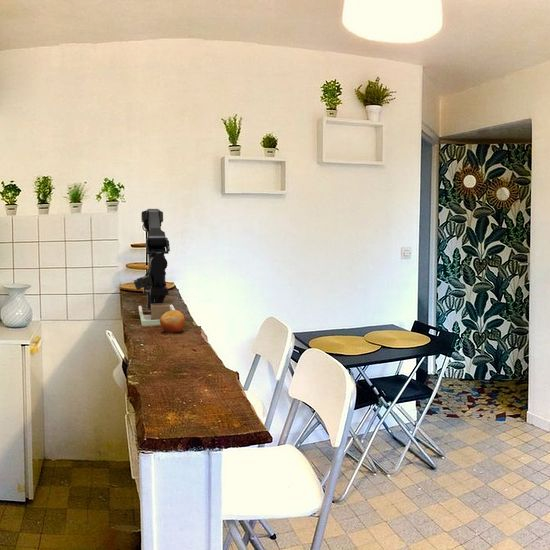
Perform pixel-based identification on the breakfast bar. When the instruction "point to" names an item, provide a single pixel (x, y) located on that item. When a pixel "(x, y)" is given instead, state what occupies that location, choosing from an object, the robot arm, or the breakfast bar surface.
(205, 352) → the breakfast bar surface
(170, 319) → the fruit
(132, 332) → the breakfast bar surface
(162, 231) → the robot arm
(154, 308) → the walnut block
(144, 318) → the trap channel
